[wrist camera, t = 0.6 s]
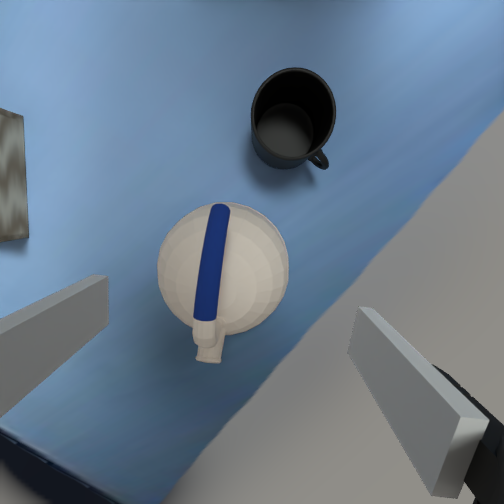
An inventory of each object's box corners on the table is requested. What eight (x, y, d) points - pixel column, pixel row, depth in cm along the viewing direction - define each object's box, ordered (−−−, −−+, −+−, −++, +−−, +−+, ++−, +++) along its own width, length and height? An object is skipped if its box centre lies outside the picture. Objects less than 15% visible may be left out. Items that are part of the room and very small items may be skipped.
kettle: (161, 315, 42) (94, 399, 25) (167, 193, 38) (92, 188, 20) (278, 330, 43) (294, 423, 25) (297, 209, 38) (334, 219, 21)
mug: (294, 195, 38) (306, 194, 29) (238, 136, 36) (232, 115, 27) (341, 148, 36) (369, 132, 27) (285, 84, 34) (295, 45, 26)
